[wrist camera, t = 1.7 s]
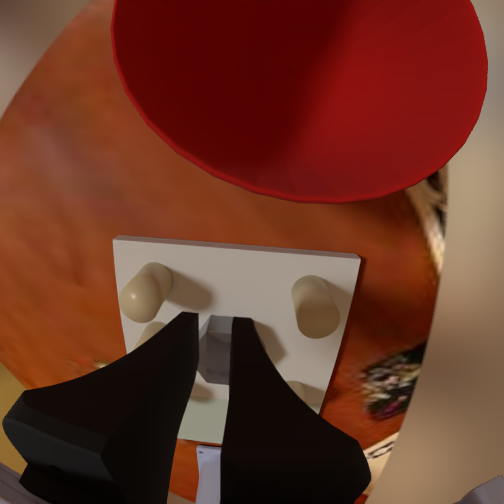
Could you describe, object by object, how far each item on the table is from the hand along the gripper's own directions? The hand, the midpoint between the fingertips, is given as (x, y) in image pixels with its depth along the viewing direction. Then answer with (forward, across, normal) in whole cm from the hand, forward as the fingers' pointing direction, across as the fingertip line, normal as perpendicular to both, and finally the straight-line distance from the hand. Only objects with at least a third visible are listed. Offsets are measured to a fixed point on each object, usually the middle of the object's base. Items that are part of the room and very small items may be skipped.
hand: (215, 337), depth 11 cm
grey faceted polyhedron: (+8, 0, +6) cm, 11 cm away
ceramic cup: (+10, -2, -14) cm, 17 cm away
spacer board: (+9, 0, +10) cm, 13 cm away
